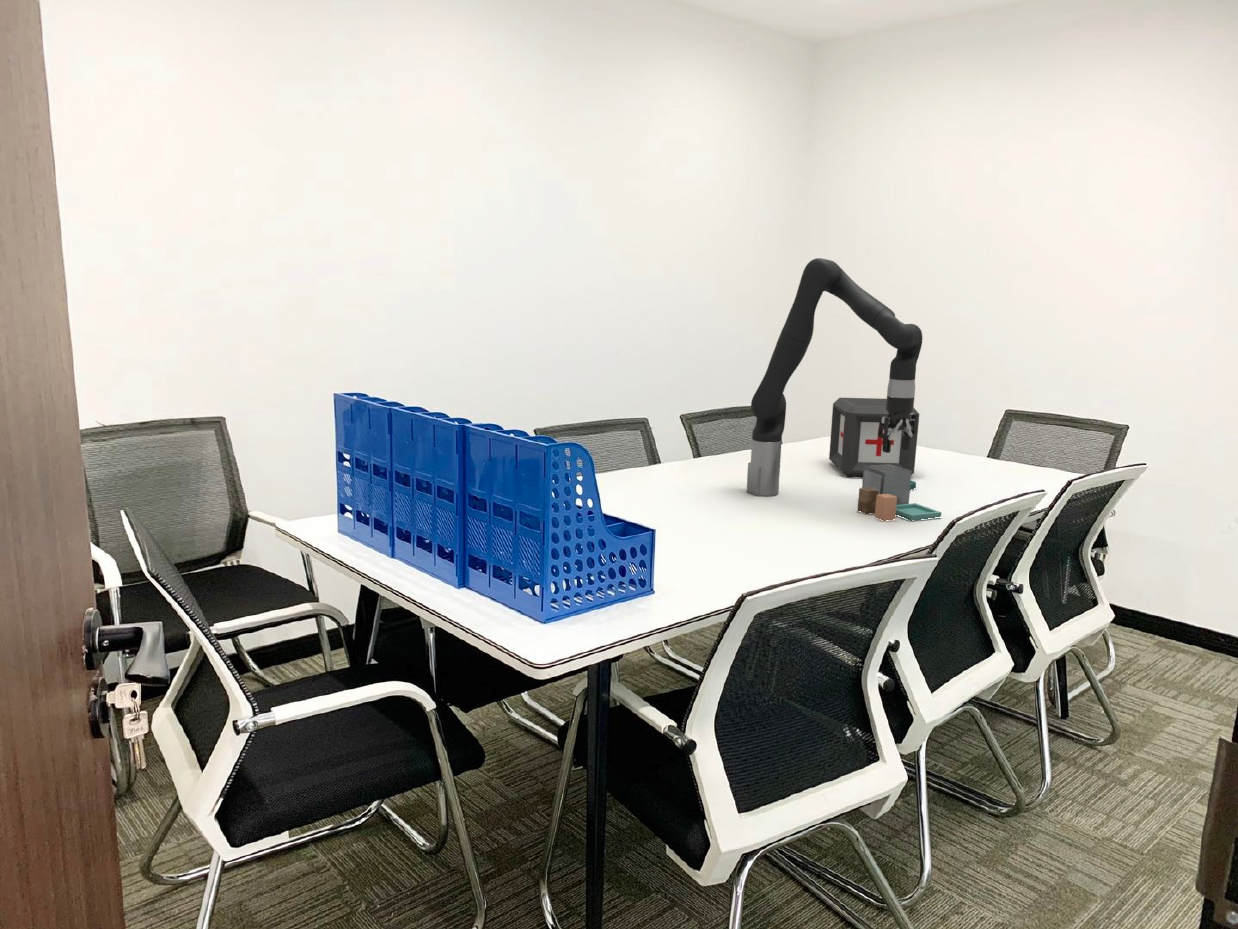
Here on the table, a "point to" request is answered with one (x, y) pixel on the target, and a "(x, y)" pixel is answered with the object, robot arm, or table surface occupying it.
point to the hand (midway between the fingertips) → (895, 450)
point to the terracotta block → (885, 507)
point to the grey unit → (888, 481)
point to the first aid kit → (865, 437)
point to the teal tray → (916, 512)
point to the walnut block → (867, 500)
